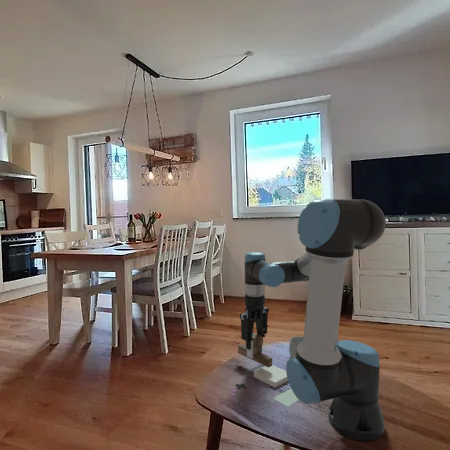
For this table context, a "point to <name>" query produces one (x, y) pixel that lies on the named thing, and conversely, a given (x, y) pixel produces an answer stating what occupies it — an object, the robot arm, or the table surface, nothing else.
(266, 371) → the tile
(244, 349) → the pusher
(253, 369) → the mat
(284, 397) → the rest board
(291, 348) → the teacup
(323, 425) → the table surface
